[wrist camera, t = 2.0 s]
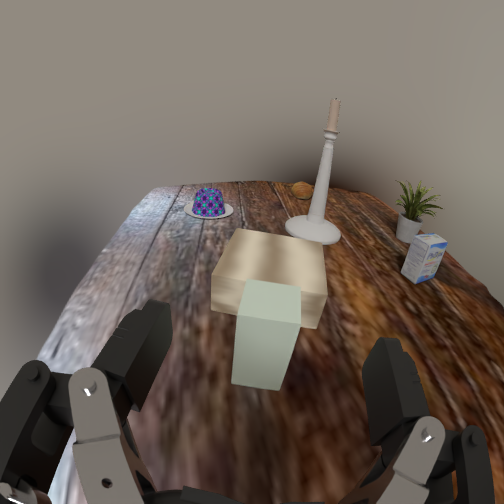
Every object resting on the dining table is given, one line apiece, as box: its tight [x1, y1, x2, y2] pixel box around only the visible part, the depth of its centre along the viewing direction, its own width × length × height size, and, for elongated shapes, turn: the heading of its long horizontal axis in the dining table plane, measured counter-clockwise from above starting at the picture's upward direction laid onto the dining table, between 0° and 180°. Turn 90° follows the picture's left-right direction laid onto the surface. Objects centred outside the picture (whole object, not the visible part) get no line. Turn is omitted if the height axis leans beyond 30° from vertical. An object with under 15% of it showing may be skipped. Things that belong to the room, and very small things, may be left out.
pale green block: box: [231, 279, 301, 391], centre depth 25 cm, size 5×5×10 cm
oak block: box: [211, 228, 328, 329], centre depth 40 cm, size 14×14×6 cm
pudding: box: [184, 188, 233, 219], centre depth 64 cm, size 12×12×5 cm
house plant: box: [396, 181, 443, 243], centre depth 60 cm, size 14×14×16 cm
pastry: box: [291, 182, 313, 200], centre depth 84 cm, size 9×7×4 cm
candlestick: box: [285, 99, 341, 245], centre depth 54 cm, size 13×13×30 cm
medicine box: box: [401, 233, 447, 284], centre depth 46 cm, size 8×4×9 cm, turn 112°
